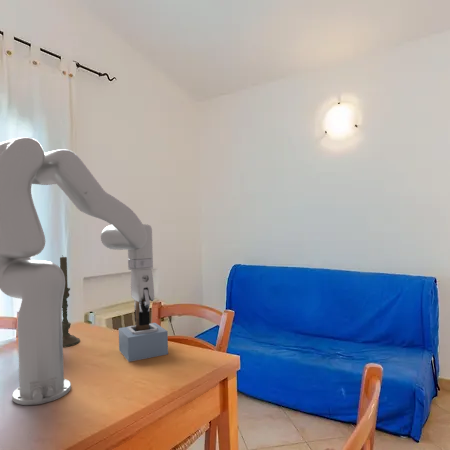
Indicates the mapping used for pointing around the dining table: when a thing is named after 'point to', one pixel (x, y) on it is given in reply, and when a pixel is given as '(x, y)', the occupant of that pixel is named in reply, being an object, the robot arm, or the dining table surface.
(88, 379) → the dining table surface
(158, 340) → the square peg hole block
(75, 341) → the candlestick holder
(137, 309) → the walnut dowel
